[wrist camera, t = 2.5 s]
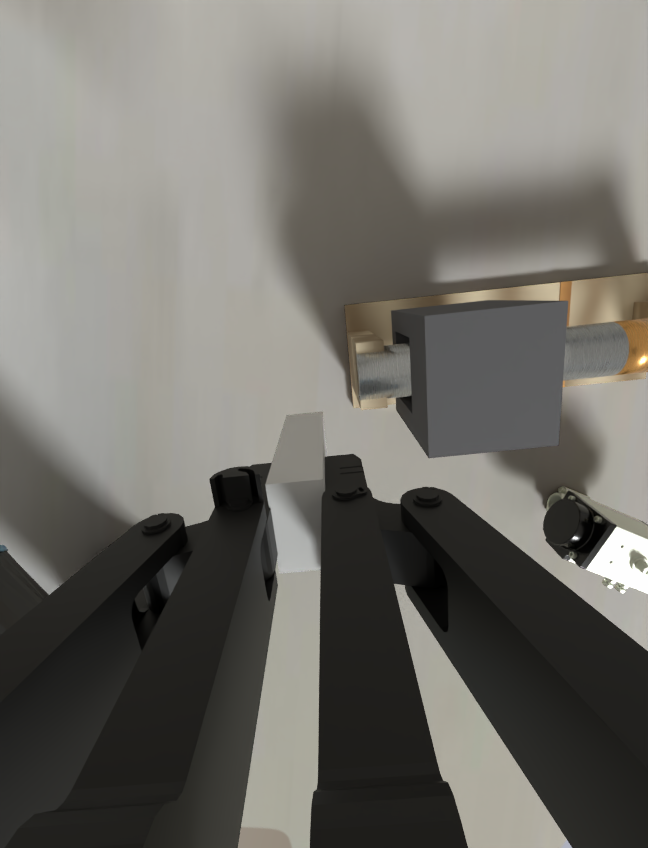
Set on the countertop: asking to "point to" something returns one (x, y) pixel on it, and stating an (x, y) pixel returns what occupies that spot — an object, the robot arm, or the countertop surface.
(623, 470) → the countertop surface
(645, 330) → the pipe
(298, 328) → the countertop surface
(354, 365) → the pipe rig
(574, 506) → the pneumatic valve
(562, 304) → the collar
